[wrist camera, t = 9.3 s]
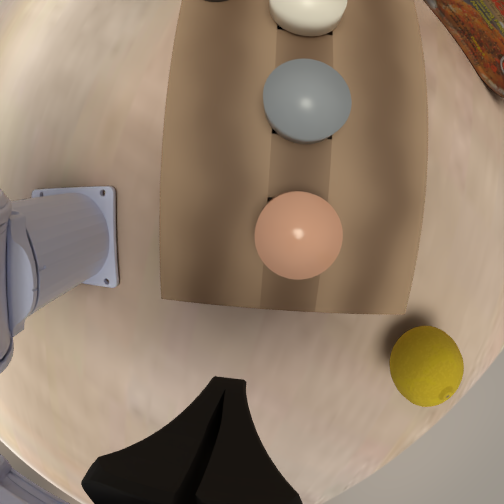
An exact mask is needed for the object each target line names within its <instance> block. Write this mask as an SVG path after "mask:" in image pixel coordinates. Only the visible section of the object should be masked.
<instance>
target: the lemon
mask: <svg viewBox="0 0 504 504" xmlns="http://www.w3.org/2000/svg"><path fill="white" fill-rule="evenodd" d="M390 372H391V377H392V379H393V382H394V384H395V385H396V387H397V389H398V391H399V392H400V393H401V394H402V395H403V396H404V397H405V398H406V399H408V400H409V401H410V402H411V403H413V404H415V405H419V406H422V407H431V406H435V405H439V404H441V403H443V402H445V401H446V400H448V399H449V398H450V397H451V396H452V395H453V394H454V393H455V392H456V390H457V389H458V387H459V385H460V383H461V380H462V376H463V372H464V366H463V358H462V355H461V353H460V351H459V349H458V347H457V345H456V343H455V342H454V340H453V339H452V338H451V337H450V336H449V335H447V334H446V333H445V332H444V331H442V330H440V329H438V328H435V327H432V326H419V327H415V328H413V329H410V330H408V331H407V332H406V333H404V334H403V335H402V336H401V337H400V338H399V339H398V340H397V342H396V344H395V345H394V347H393V349H392V352H391V356H390Z"/></svg>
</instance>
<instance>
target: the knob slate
mask: <svg viewBox="0 0 504 504" xmlns="http://www.w3.org/2000/svg"><path fill="white" fill-rule="evenodd" d="M263 103H264V111H265V115H266V118H267V120H268V123H269V124H270V126H271V127H272V128H273V130H274V131H275V132H276V133H277V134H279V135H280V136H281V137H283V138H285V139H286V140H289V141H291V142H294V143H298V144H314V143H318V142H321V141H323V140H325V139H327V138H328V137H330V136H331V135H333V134H334V133H335V132H336V131H338V130H339V129H340V128H341V127H342V126H343V125H344V124H345V122H346V121H347V119H348V117H349V114H350V111H351V104H352V101H351V94H350V90H349V87H348V85H347V83H346V82H345V80H344V79H343V77H342V76H341V75H340V74H339V73H338V72H337V71H336V70H335V69H333V68H332V67H330V66H329V65H327V64H325V63H323V62H320V61H317V60H312V59H295V60H291V61H287V62H285V63H283V64H281V65H280V66H278V67H277V68H276V69H274V70H273V71H272V73H271V74H270V75H269V77H268V78H267V80H266V82H265V85H264V90H263Z"/></svg>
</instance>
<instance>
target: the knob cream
mask: <svg viewBox="0 0 504 504" xmlns="http://www.w3.org/2000/svg"><path fill="white" fill-rule="evenodd" d="M269 4H270V14H271V16H272V18H273V19H274V21H275V22H276V23H277V24H278V25H279V26H280V27H282V28H283V29H284V30H287V31H289V32H291V33H294V34H297V35H302V36H320V35H324V34H327V33H329V32H331V31H332V30H334V29H335V28H336V27H337V25H338V24H339V22H340V19H341V17H342V15H343V13H344V10H345V8H346V6H347V0H269Z"/></svg>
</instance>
